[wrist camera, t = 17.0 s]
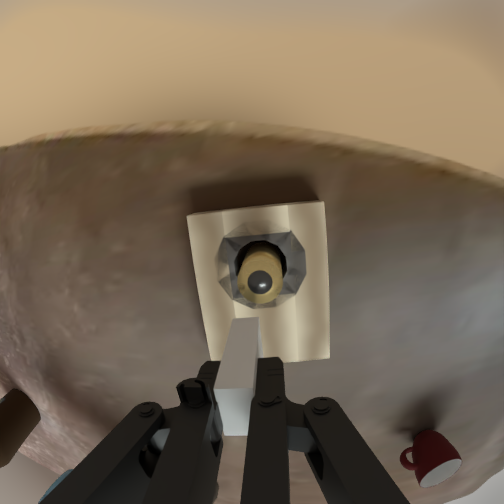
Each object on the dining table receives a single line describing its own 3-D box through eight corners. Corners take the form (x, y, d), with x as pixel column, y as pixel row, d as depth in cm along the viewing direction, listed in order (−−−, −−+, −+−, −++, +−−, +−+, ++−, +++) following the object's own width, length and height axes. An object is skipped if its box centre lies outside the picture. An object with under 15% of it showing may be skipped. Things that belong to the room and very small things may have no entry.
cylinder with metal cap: (247, 278, 35) (241, 306, 27) (242, 244, 34) (233, 263, 26) (282, 274, 34) (285, 300, 27) (278, 240, 34) (279, 257, 26)
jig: (216, 353, 37) (212, 366, 34) (193, 213, 33) (186, 216, 31) (325, 345, 36) (329, 357, 33) (319, 200, 32) (323, 201, 29)
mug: (386, 456, 41) (399, 496, 31) (398, 428, 39) (415, 470, 30) (434, 445, 40) (451, 480, 31) (447, 417, 39) (469, 452, 29)
